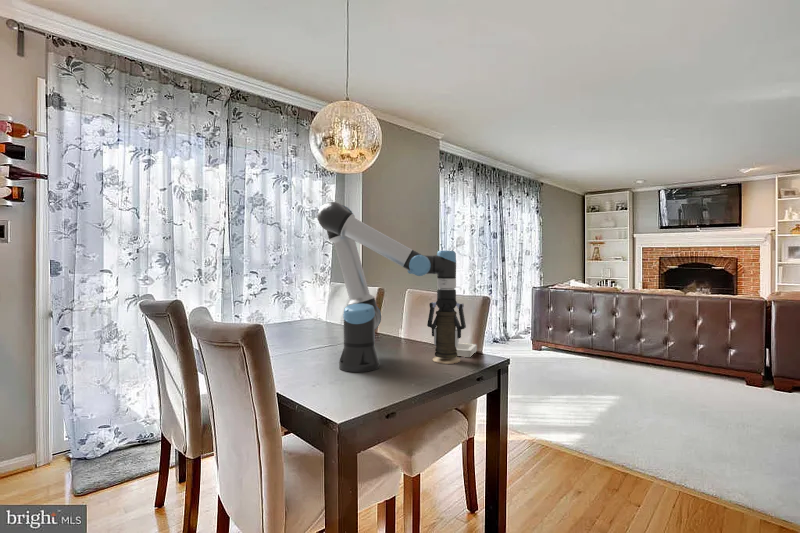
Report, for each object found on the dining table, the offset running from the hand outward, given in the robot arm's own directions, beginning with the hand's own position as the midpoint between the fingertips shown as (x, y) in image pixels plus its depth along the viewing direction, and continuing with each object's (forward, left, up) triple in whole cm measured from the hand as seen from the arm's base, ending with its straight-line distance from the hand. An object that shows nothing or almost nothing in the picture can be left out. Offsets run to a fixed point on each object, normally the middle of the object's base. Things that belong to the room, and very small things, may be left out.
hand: (446, 345), depth 169 cm
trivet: (0, 0, -6) cm, 6 cm away
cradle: (+3, +15, -6) cm, 16 cm away
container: (0, 0, -5) cm, 5 cm away
